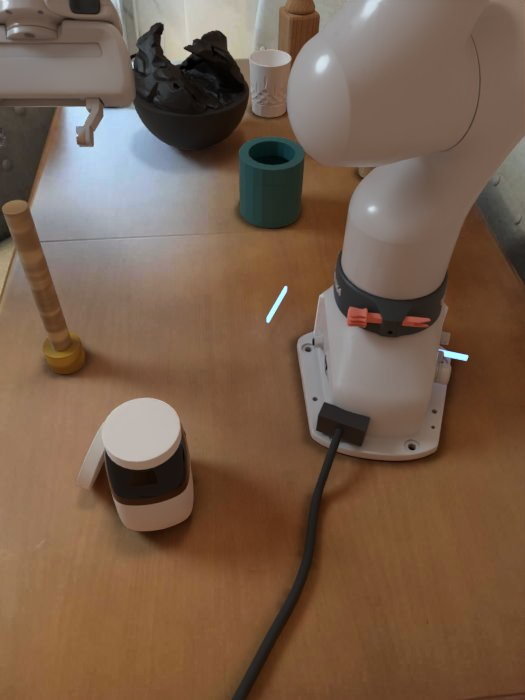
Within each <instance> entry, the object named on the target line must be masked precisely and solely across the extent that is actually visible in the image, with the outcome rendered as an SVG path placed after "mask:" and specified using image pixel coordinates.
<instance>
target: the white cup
mask: <svg viewBox="0 0 525 700" xmlns="http://www.w3.org/2000/svg"><path fill="white" fill-rule="evenodd" d="M291 60H292V58H291V56H290V55H289V54H288V53H286V52H283V51H279V50H278V49H272V48H271V49H268V48H267V49H260V50H255V51H253V52H252V53H251V54H250V55H249V56H248V64H249V65H248V66H249V67H248V69H249V90H250V97H251V111H252V112H253V113H254V114H255V115H256V116H258V117H261V118H269V119H270V118H277V117H281V116H283V115H284V114H285V113H286V112H287V103H286V97H287V85H288V80H289V76H290V70H291Z"/></svg>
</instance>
